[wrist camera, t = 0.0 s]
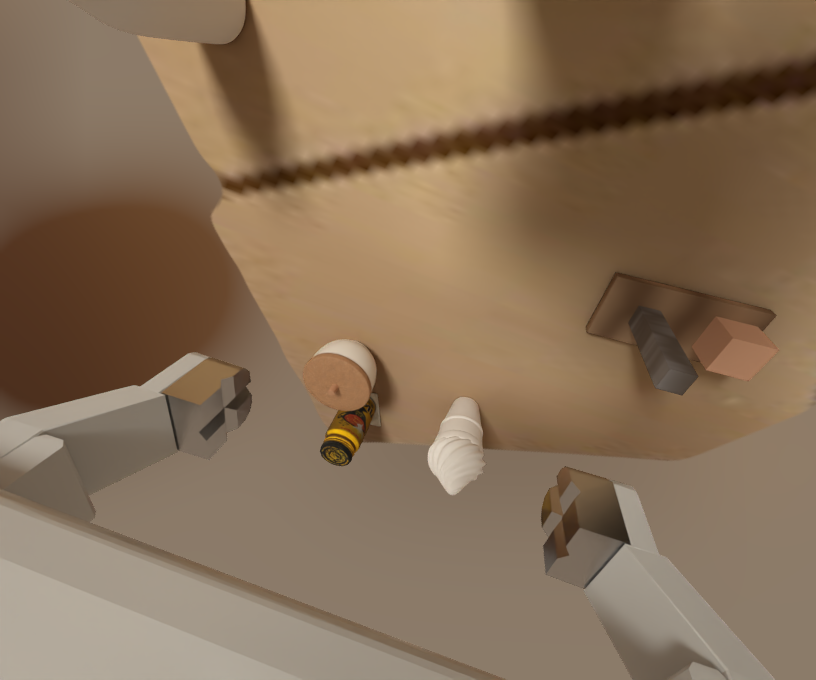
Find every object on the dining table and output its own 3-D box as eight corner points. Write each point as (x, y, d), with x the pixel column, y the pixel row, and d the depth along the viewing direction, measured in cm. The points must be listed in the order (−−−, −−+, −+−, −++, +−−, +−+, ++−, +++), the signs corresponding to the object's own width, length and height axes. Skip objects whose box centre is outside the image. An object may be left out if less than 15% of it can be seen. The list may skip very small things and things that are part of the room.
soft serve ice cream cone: (440, 384, 60) (418, 466, 48) (492, 390, 58) (483, 477, 46) (442, 420, 65) (421, 503, 52) (490, 426, 63) (481, 514, 50)
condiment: (377, 392, 65) (352, 446, 56) (381, 425, 70) (358, 480, 61) (339, 386, 67) (308, 438, 57) (345, 419, 72) (317, 471, 62)
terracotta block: (691, 346, 45) (705, 370, 41) (715, 316, 42) (733, 338, 39) (730, 356, 44) (748, 381, 41) (757, 326, 42) (779, 350, 38)
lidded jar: (313, 350, 63) (285, 386, 56) (347, 315, 57) (321, 351, 50) (360, 388, 66) (339, 428, 58) (398, 359, 60) (380, 399, 52)
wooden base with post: (585, 327, 48) (602, 396, 38) (615, 272, 43) (644, 334, 33) (723, 363, 46) (780, 446, 36) (770, 310, 41) (853, 388, 31)
